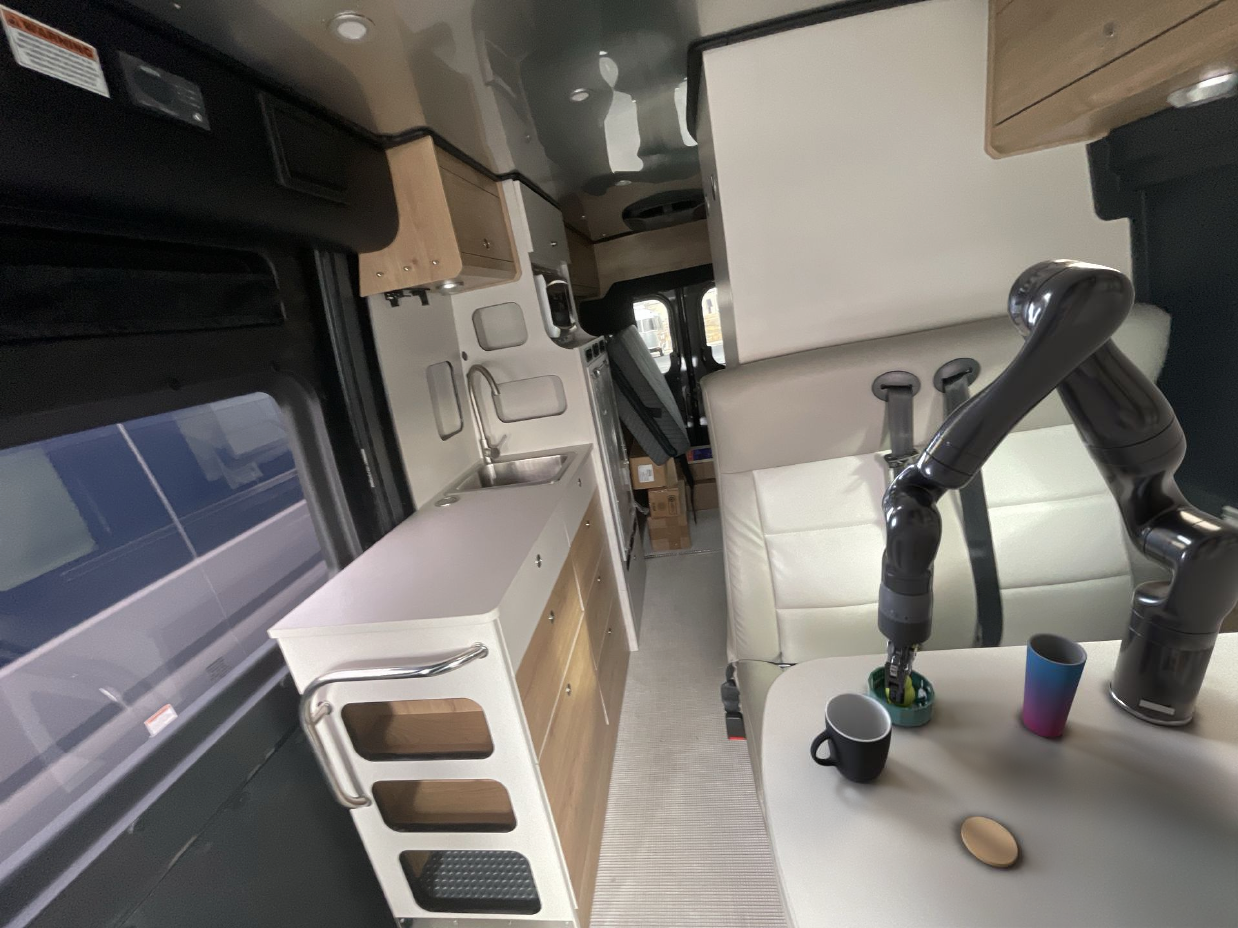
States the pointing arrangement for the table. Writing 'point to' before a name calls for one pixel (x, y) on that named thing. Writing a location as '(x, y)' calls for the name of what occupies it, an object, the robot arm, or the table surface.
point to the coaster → (989, 841)
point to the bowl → (920, 706)
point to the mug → (855, 736)
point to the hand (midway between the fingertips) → (900, 688)
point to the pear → (908, 695)
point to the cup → (1051, 682)
